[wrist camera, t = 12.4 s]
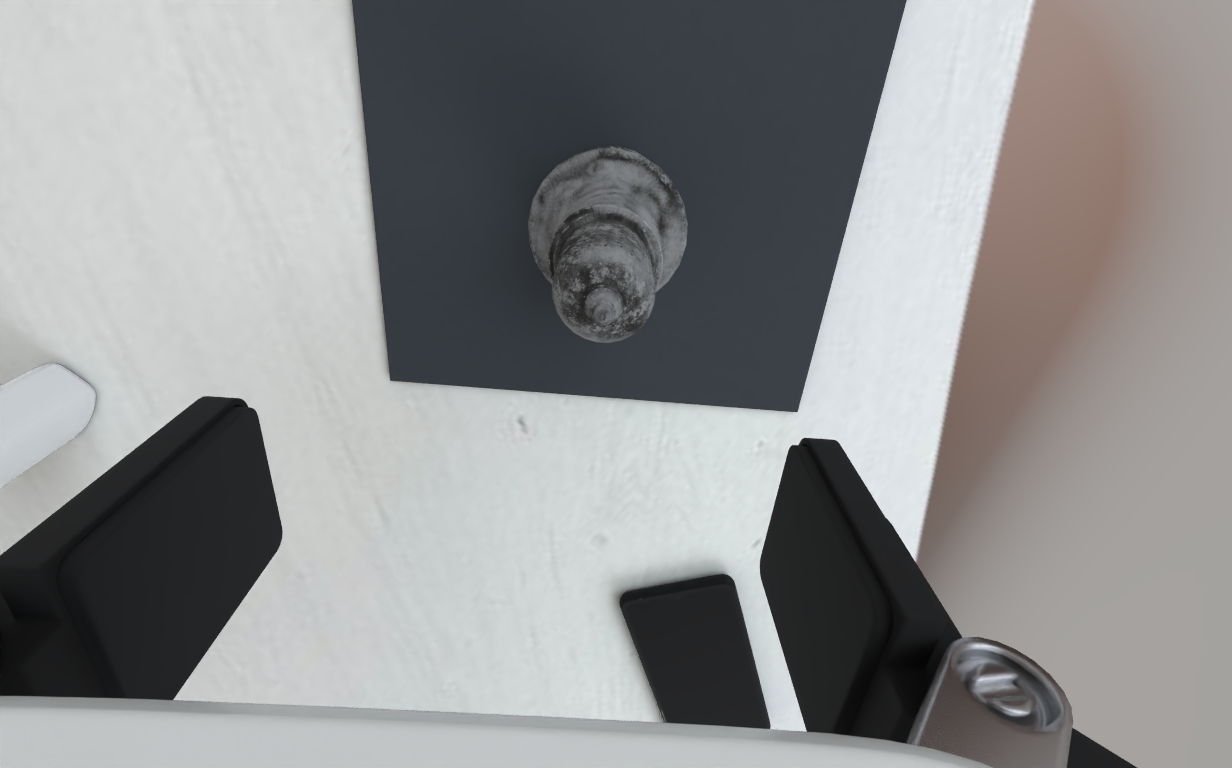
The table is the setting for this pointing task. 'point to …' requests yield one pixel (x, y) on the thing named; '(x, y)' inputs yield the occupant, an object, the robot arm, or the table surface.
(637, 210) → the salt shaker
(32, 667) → the robot arm
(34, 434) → the eye dropper bottle
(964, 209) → the table surface
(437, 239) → the mat
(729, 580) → the smartphone
